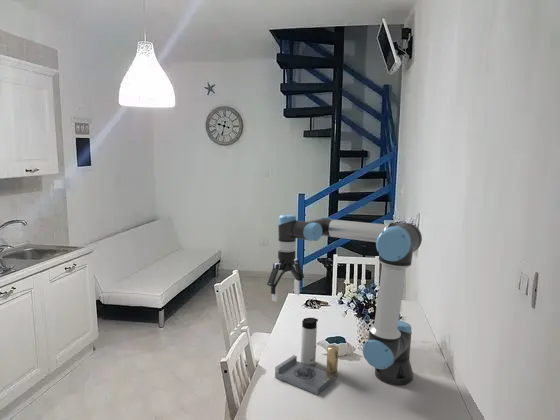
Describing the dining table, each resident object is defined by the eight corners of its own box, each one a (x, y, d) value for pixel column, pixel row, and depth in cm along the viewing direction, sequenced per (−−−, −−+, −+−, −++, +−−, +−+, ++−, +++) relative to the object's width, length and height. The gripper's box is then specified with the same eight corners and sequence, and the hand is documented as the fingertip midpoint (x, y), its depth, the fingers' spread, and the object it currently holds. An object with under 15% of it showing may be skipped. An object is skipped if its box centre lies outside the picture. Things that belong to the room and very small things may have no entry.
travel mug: (315, 367, 181) (316, 322, 178) (299, 365, 182) (301, 320, 180) (316, 360, 187) (318, 316, 185) (302, 358, 189) (303, 315, 186)
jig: (334, 380, 171) (335, 370, 170) (317, 395, 161) (318, 383, 160) (293, 365, 183) (293, 355, 182) (275, 377, 172) (275, 367, 172)
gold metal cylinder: (339, 375, 176) (340, 347, 174) (333, 379, 172) (335, 351, 170) (329, 371, 178) (330, 344, 177) (324, 375, 175) (325, 348, 173)
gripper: (300, 245, 197) (299, 289, 200) (259, 252, 180) (258, 301, 183) (312, 247, 192) (311, 293, 194) (271, 256, 174) (270, 306, 177)
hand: (285, 297), depth 188 cm, fingers open, 13 cm apart
